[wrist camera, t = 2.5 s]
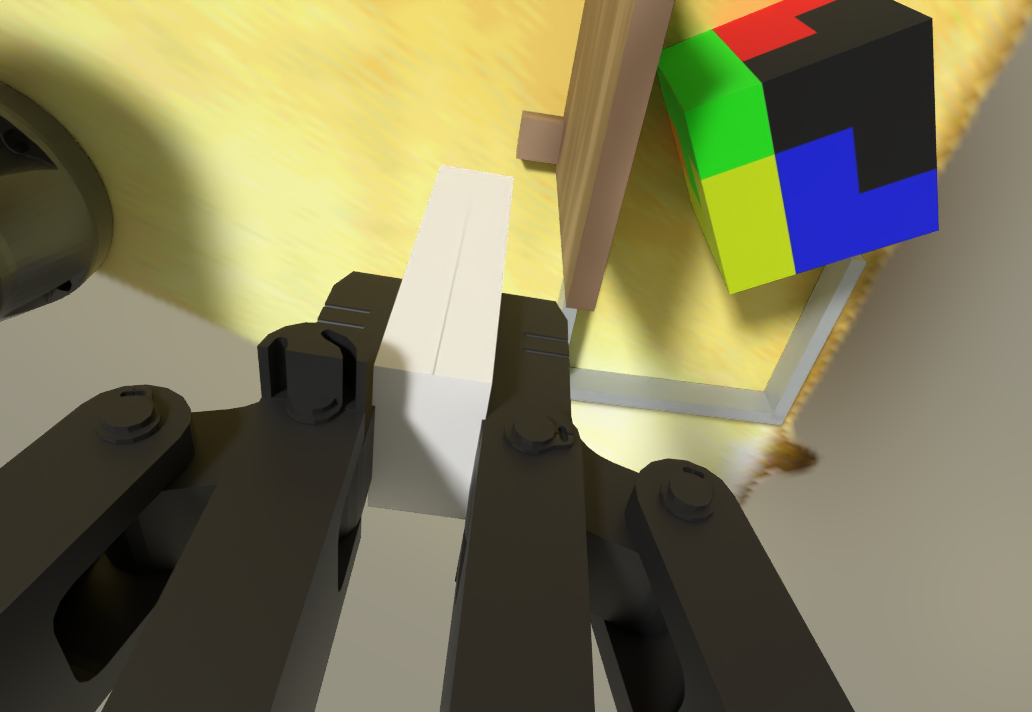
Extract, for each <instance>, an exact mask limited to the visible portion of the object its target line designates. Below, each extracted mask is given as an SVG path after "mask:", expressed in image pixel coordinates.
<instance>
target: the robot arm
mask: <svg viewBox="0 0 1032 712" xmlns="http://www.w3.org/2000/svg"><path fill="white" fill-rule="evenodd" d="M513 181H514V177H511V176H505V175H499V174H493V173H487V172H482V171H476V170H470V169H464V168H458V167H452V166H447V165H440V168H439V171H438V174H437V177H436V180H435V183H434V186H433V189H432V192H431V195H430V198H429V201H428V204H427V207H426V210H425V213H424V216H423V219H422V222H421V225H420V228H419V231H418V234H417V237H416V240H415V243H414V246H413V249H412V252H411V255H410V258H409V261H408V264H407V267H406V270H405V273H404V276H403V279H399V278H393V277H386V276H380V275H374V274H368V273H361V272H355V271H353V272H352V273H350V274H349V275H348V276H346V277H345V278H343V279H342V280H340V281H339V282H338V283H336V284H335V285H334V286H333V288H332V290H331V292H330V294H329V296H328V298H327V300H326V302H325V307H323V309H322V311H321V313H320V315H319V317H318V321H317V322H316V323H307V322H305V323H300V324H295V325H290V326H285V327H283V328H281V329H279V330H277V331H275V332H272V333H270V334H268V335H267V336H266V337H265V338H264V340H263V341H262V342H261V343H260V344H259V345H258V346H257V349H258V360H259V371H260V382H261V393H262V398H261V399H260V401H259V402H257V403H255V404H251V405H248V406H245V407H239V408H233V409H228V410H215V411H203V412H191V409H190V407H189V406H188V404H187V403H186V401H185V400H184V398H183V397H182V396H180V395H179V394H177V393H175V392H173V391H172V390H170V389H168V388H164V387H157V386H152V385H134V386H123V387H120V388H116V389H113V390H110V391H106V392H103V393H100V394H98V395H97V396H95V397H93V398H92V399H90V400H88V401H86V402H85V403H83V404H81V405H80V406H79V407H78V408H76V409H75V410H74V411H72V412H71V413H70V414H69V415H67V416H66V417H65V418H64V419H62V420H61V421H60V422H58V423H57V424H56V425H55V426H53V427H52V428H51V429H50V430H48V431H47V432H46V433H45V434H43V435H42V436H41V437H40V438H38V439H37V440H36V441H34V442H33V443H32V444H31V445H29V446H28V447H27V448H25V449H24V450H23V451H22V452H20V453H19V454H18V455H17V456H15V457H14V458H13V459H12V460H10V461H9V462H8V463H6V464H5V465H4V466H3V467H1V468H0V712H95V711H96V710H97V708H98V707H99V706H100V705H101V703H102V702H103V701H104V699H105V698H106V697H107V696H108V694H109V693H110V692H111V690H112V689H113V690H112V692H111V694H110V696H109V698H108V700H107V702H106V703H105V705H104V707H103V709H102V711H101V712H314V711H315V707H316V703H317V700H318V696H319V692H320V688H321V685H322V681H323V677H324V673H325V670H326V666H327V662H328V659H329V655H330V651H331V647H332V643H333V640H334V636H335V632H336V629H337V624H338V621H339V617H340V613H341V610H342V606H343V602H344V599H345V595H346V591H347V587H348V584H349V580H350V576H351V572H352V569H353V565H354V561H355V557H356V553H357V550H358V546H359V542H360V538H361V515H362V512H363V508H364V505H365V501H366V497H367V494H368V506H370V507H378V508H385V509H392V510H400V511H407V512H415V513H422V514H429V515H437V516H443V517H451V518H459V519H465V520H466V521H465V529H464V534H463V540H462V545H461V551H460V556H459V562H458V567H457V572H456V577H455V582H456V589H455V597H454V604H453V612H452V620H451V628H450V636H449V644H448V651H447V659H446V667H445V674H444V683H443V690H442V698H441V705H440V712H595V706H594V705H595V704H594V683H593V663H592V643H591V625H592V628H593V632H594V635H595V638H596V642H597V645H598V648H599V652H600V655H601V659H602V662H603V665H604V669H605V672H606V675H607V678H608V682H609V685H610V689H611V692H612V695H613V698H614V702H615V705H616V708H617V712H855V711H854V709H853V708H852V706H851V704H850V702H849V700H848V699H847V697H846V695H845V693H844V692H843V690H842V688H841V686H840V685H839V682H838V681H837V679H836V677H835V675H834V674H833V672H832V670H831V668H830V666H829V665H828V663H827V661H826V659H825V658H824V656H823V654H822V652H821V650H820V648H819V647H818V645H817V643H816V641H815V639H814V638H813V636H812V634H811V633H810V631H809V629H808V627H807V625H806V623H805V622H804V620H803V618H802V616H801V615H800V613H799V611H798V609H797V607H796V605H795V604H794V602H793V600H792V598H791V596H790V595H789V593H788V591H787V589H786V588H785V586H784V584H783V582H782V581H781V579H780V577H779V575H778V573H777V572H776V570H775V568H774V566H773V564H772V563H771V561H770V559H769V557H768V555H767V553H766V552H765V550H764V548H763V546H762V545H761V543H760V541H759V539H758V537H757V536H756V534H755V532H754V530H753V528H752V527H751V525H750V523H749V521H748V519H747V518H746V516H745V514H744V512H743V510H742V509H741V507H740V505H739V503H738V501H737V500H736V498H735V496H734V495H733V493H732V492H731V491H730V490H729V488H728V487H727V486H726V484H725V483H724V482H723V481H722V480H721V479H720V478H718V477H717V476H716V475H714V474H713V473H711V472H710V471H709V470H707V469H706V468H704V467H701V466H699V465H696V464H694V463H691V462H689V461H685V460H676V459H663V460H659V461H654V462H651V463H650V464H648V465H647V466H646V467H645V468H643V469H642V470H641V471H640V473H637V472H635V471H632V470H630V469H627V468H625V467H623V466H620V465H618V464H615V463H613V462H611V461H609V460H607V459H605V458H603V457H601V456H599V455H598V454H596V453H595V452H594V451H592V450H591V449H590V448H588V447H587V446H586V444H585V443H584V442H583V441H582V440H581V439H580V436H579V432H578V429H577V428H576V427H575V426H574V424H573V423H572V418H571V396H570V369H569V359H568V358H569V343H568V320H567V318H566V317H565V315H564V314H563V312H562V311H561V309H560V308H559V306H558V305H557V303H556V301H550V300H543V299H537V298H531V297H525V296H518V295H512V294H506V293H502V284H503V275H504V265H505V256H506V247H507V237H508V228H509V218H510V209H511V199H512V190H513ZM112 233H113V219H112V212H111V207H110V203H109V199H108V196H107V193H106V190H105V188H104V185H103V183H102V181H101V179H100V177H99V175H98V173H97V171H96V169H95V168H94V166H93V164H92V163H91V161H90V160H89V158H88V157H87V155H86V154H85V152H84V151H83V150H82V148H81V147H80V146H79V144H78V143H77V142H76V141H75V140H74V139H73V137H72V136H71V135H70V134H69V133H68V132H67V131H66V130H65V129H64V128H63V127H62V126H61V125H60V124H59V123H58V122H57V121H56V120H55V119H54V118H53V117H51V116H50V115H49V114H48V113H47V112H46V111H44V110H43V109H42V108H41V107H39V106H38V105H37V104H35V103H34V102H33V101H31V100H30V99H28V98H27V97H25V96H24V95H22V94H21V93H19V92H18V91H16V90H14V89H13V88H11V87H9V86H7V85H5V84H3V83H2V82H0V322H1V321H4V320H6V319H9V318H12V317H14V316H17V315H20V314H22V313H25V312H28V311H30V310H33V309H35V308H38V307H41V306H44V305H46V304H49V303H52V302H54V301H57V300H59V299H61V298H63V297H65V296H67V295H69V294H70V293H72V292H73V291H75V290H76V289H77V288H78V287H80V286H81V285H82V283H84V282H85V281H86V280H87V279H88V278H89V277H90V276H91V275H92V274H93V273H94V272H95V271H96V270H97V269H98V268H99V266H100V265H101V264H102V262H103V261H104V259H105V257H106V256H107V253H108V251H109V248H110V245H111V241H112Z"/></svg>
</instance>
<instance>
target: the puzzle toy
mask: <svg viewBox="0 0 1032 712" xmlns="http://www.w3.org/2000/svg"><path fill="white" fill-rule="evenodd" d="M656 71H657V75H658V79H659V82H660V86H661V90H662V94H663V97H664V101H665V105H666V109H667V112H668V116H669V120H670V124H671V128H672V131H673V135H674V139H675V143H676V146H677V150H678V154H679V158H680V161H681V165H682V169H683V173H684V177H685V180H686V184H687V188H688V192H689V195H690V199H691V203H692V207H693V210H694V213H695V215H696V217H697V220H698V222H699V224H700V227H701V229H702V231H703V234H704V236H705V238H706V241H707V243H708V245H709V248H710V250H711V252H712V255H713V257H714V259H715V261H716V264H717V266H718V268H719V271H720V273H721V275H722V278H723V280H724V282H725V285H726V287H727V289H728V292H729V294H733V293H736V292H740V291H743V290H746V289H749V288H753V287H756V286H759V285H762V284H766V283H769V282H772V281H775V280H779V279H782V278H785V277H788V276H792V275H795V274H798V273H801V272H805V271H808V270H811V269H814V268H818V267H821V266H824V265H827V264H831V263H834V262H837V261H840V260H844V259H847V258H850V257H853V256H857V255H860V254H863V253H866V252H870V251H873V250H876V249H879V248H883V247H886V246H889V245H892V244H896V243H899V242H902V241H905V240H909V239H912V238H915V237H918V236H921V235H925V234H928V233H932V232H935V231H938V230H939V224H938V191H937V158H936V125H935V92H934V59H933V26H932V18H931V17H929V16H926V15H924V14H922V13H920V12H918V11H915V10H913V9H911V8H909V7H907V6H904V5H902V4H900V3H898V2H896V1H894V0H783V1H781V2H778V3H776V4H773V5H771V6H768V7H766V8H764V9H761V10H759V11H756V12H754V13H751V14H749V15H746V16H744V17H741V18H739V19H736V20H734V21H731V22H729V23H726V24H724V25H722V26H719V27H717V28H714V29H712V30H709V31H707V32H704V33H702V34H699V35H697V36H694V37H692V38H689V39H687V40H684V41H682V42H680V43H677V44H675V45H672V46H670V47H667V48H665V49H662V51H661V55H660V59H659V63H658V66H657V70H656Z"/></svg>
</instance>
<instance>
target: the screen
mask: <svg viewBox="0 0 1032 712" xmlns="http://www.w3.org/2000/svg"><path fill="white" fill-rule="evenodd" d="M674 1H675V0H585V4H584V10H583V15H582V20H581V26H580V31H579V37H578V42H577V47H576V53H575V58H574V63H573V69H572V74H571V79H570V85H569V90H568V96H567V101H566V106H565V112H564V117H561V116H554V115H548V114H541V113H534V112H528V111H523V112H522V119H521V125H520V132H519V139H518V145H517V155H516V158H517V159H524V160H531V161H538V162H544V163H551V164H555V165H556V179H557V193H558V206H559V220H560V234H561V247H562V261H563V275H564V289H565V302H566V308H573V309H580V310H588V311H594V310H595V306H596V302H597V298H598V294H599V290H600V286H601V283H602V279H603V275H604V271H605V267H606V263H607V259H608V256H609V252H610V248H611V244H612V240H613V236H614V232H615V229H616V225H617V221H618V217H619V213H620V209H621V205H622V202H623V198H624V194H625V190H626V186H627V182H628V178H629V175H630V171H631V167H632V163H633V159H634V155H635V151H636V148H637V144H638V140H639V136H640V132H641V128H642V124H643V120H644V117H645V113H646V109H647V105H648V101H649V97H650V93H651V90H652V86H653V82H654V78H655V74H656V70H657V66H658V63H659V59H660V55H661V51H662V47H663V43H664V39H665V36H666V32H667V28H668V24H669V20H670V16H671V12H672V9H673V5H674Z"/></svg>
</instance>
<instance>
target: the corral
mask: <svg viewBox="0 0 1032 712" xmlns="http://www.w3.org/2000/svg"><path fill="white" fill-rule="evenodd" d="M866 263H867V262H866V260H865V259H864V258H863V257H862V255H861V254H860V255H857V256H853V257H850V258H847V259H844V260H840V261H837V262H834V263H831V264H827V265H825V267H824V269H823V271H822V273H821V275H820V277H819V279H818V282H817V284H816V286H815V288H814V290H813V292H812V294H811V296H810V298H809V300H808V302H807V304H806V306H805V308H804V310H803V312H802V314H801V317H800V319H799V321H798V323H797V325H796V327H795V329H794V331H793V333H792V335H791V337H790V339H789V341H788V343H787V345H786V347H785V349H784V351H783V354H782V356H781V358H780V360H779V362H778V364H777V366H776V368H775V370H774V372H773V374H772V376H771V378H770V380H769V382H768V384H767V386H766V389H765V391H764V392H763V391H755V390H747V389H739V388H731V387H723V386H715V385H707V384H699V383H691V382H683V381H675V380H667V379H659V378H651V377H643V376H635V375H627V374H619V373H611V372H603V371H595V370H587V369H579V368H571V367H569V369H570V396H571V400H578V401H586V402H595V403H603V404H611V405H619V406H628V407H636V408H644V409H652V410H660V411H669V412H677V413H685V414H693V415H701V416H710V417H718V418H726V419H734V420H742V421H751V422H759V423H767V424H775V425H781V424H782V423H783V421H784V419H785V417H786V415H787V413H788V411H789V409H790V407H791V406H792V404H793V402H794V400H795V398H796V396H797V394H798V392H799V390H800V388H801V387H802V385H803V383H804V381H805V379H806V377H807V375H808V373H809V371H810V370H811V368H812V366H813V364H814V362H815V360H816V358H817V356H818V354H819V352H820V351H821V349H822V347H823V345H824V343H825V341H826V339H827V337H828V335H829V334H830V332H831V330H832V328H833V326H834V324H835V322H836V320H837V318H838V316H839V315H840V313H841V311H842V309H843V307H844V305H845V303H846V301H847V299H848V298H849V296H850V294H851V292H852V290H853V288H854V286H855V284H856V282H857V280H858V279H859V277H860V275H861V273H862V271H863V269H864V267H865V265H866ZM558 306H559V308H560V309H561V311H562V312H563V314H564V315H565V317H566V318H567V320H568V343H570V339H571V335H572V331H573V327H574V322H575V318H576V314H577V310H578V309H573V308H566V302H565V289H564V277H563V282H562V286H561V291H560V296H559V300H558Z"/></svg>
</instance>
